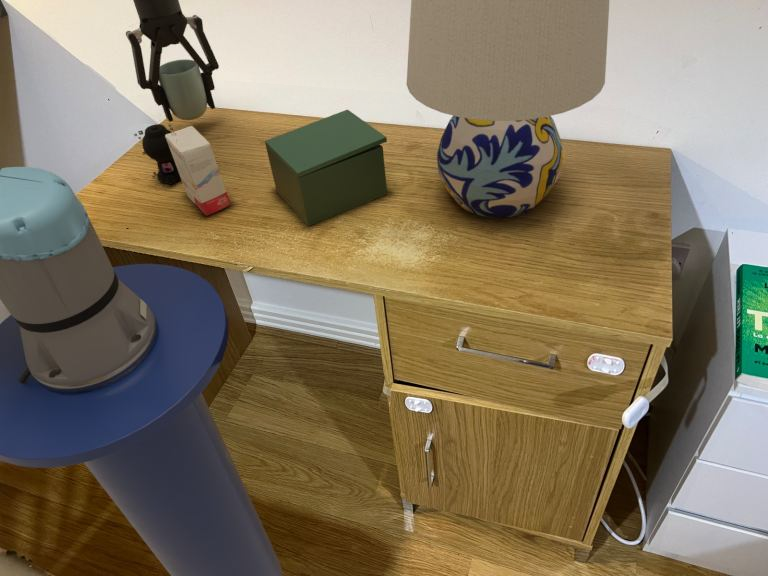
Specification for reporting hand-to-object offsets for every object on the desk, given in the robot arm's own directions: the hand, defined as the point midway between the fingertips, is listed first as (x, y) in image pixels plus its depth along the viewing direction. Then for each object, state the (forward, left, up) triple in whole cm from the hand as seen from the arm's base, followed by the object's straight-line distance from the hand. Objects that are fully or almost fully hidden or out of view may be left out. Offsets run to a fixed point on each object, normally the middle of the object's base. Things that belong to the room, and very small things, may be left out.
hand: (190, 112), depth 119 cm
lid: (+12, -39, +5) cm, 41 cm away
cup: (0, 0, -1) cm, 1 cm away
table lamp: (+33, -56, -4) cm, 65 cm away
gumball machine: (-10, -16, -4) cm, 19 cm away
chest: (+11, -39, -4) cm, 41 cm away
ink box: (-7, -28, -4) cm, 29 cm away
